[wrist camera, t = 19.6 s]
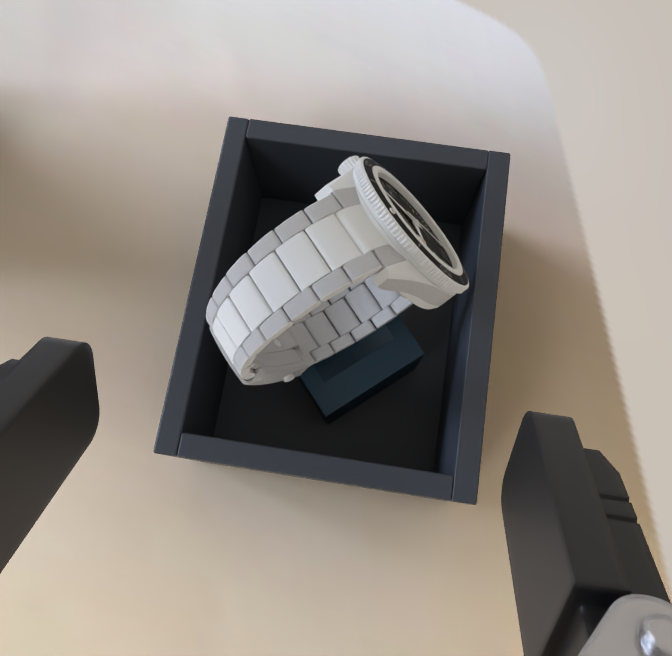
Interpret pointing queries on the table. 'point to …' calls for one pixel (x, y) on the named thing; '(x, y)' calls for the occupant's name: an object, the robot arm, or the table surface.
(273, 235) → the watch
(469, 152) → the box
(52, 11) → the table surface
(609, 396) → the table surface
